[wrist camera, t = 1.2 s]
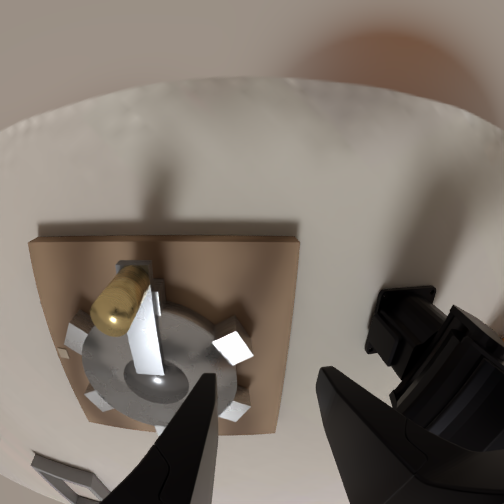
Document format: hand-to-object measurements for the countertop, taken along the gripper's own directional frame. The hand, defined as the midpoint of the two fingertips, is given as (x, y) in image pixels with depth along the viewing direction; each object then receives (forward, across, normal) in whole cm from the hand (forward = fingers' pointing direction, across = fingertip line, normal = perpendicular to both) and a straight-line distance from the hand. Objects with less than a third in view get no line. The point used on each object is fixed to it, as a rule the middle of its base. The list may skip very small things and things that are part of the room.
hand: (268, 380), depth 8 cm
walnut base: (+12, +6, +8) cm, 16 cm away
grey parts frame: (+12, +31, +48) cm, 58 cm away
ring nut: (+10, +6, +8) cm, 15 cm away
